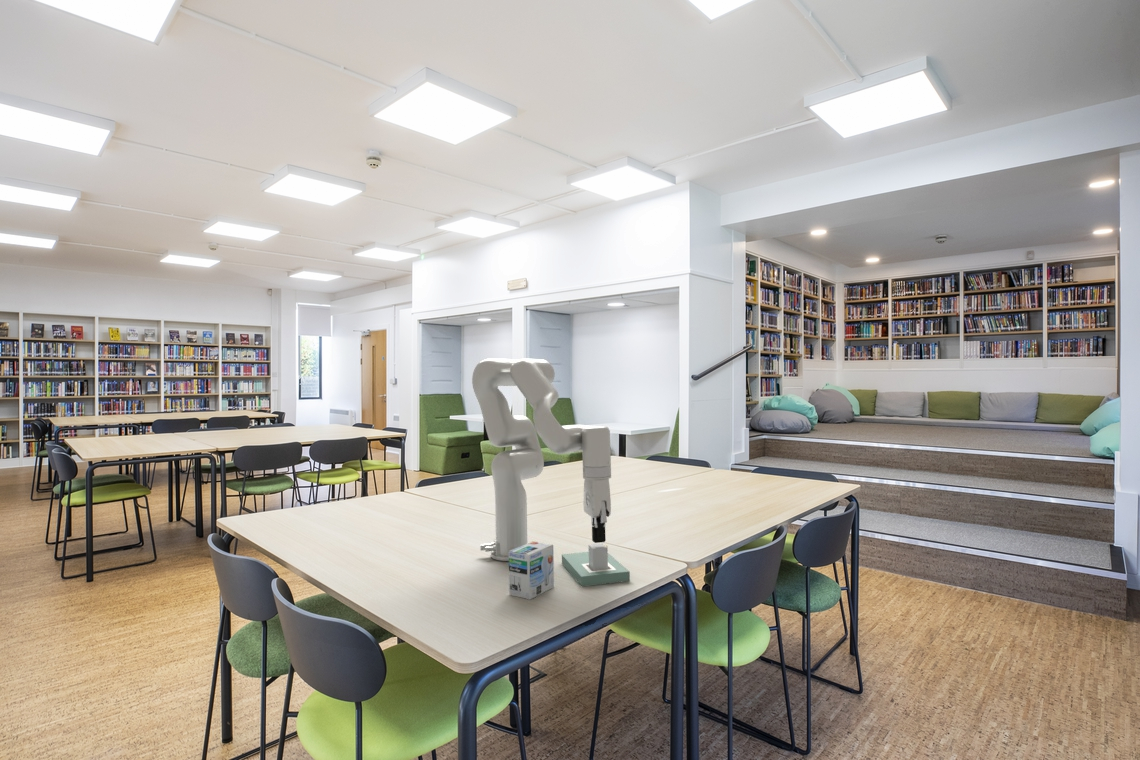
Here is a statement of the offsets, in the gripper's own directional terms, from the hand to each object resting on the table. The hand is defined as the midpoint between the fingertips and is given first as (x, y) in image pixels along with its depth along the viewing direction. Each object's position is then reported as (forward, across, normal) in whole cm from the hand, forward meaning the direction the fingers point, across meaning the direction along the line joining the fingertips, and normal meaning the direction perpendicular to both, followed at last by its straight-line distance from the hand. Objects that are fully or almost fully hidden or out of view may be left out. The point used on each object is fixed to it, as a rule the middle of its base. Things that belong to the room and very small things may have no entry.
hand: (598, 541), depth 149 cm
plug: (+9, 0, 0) cm, 9 cm away
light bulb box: (+9, +5, -19) cm, 22 cm away
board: (+9, -4, 0) cm, 10 cm away
